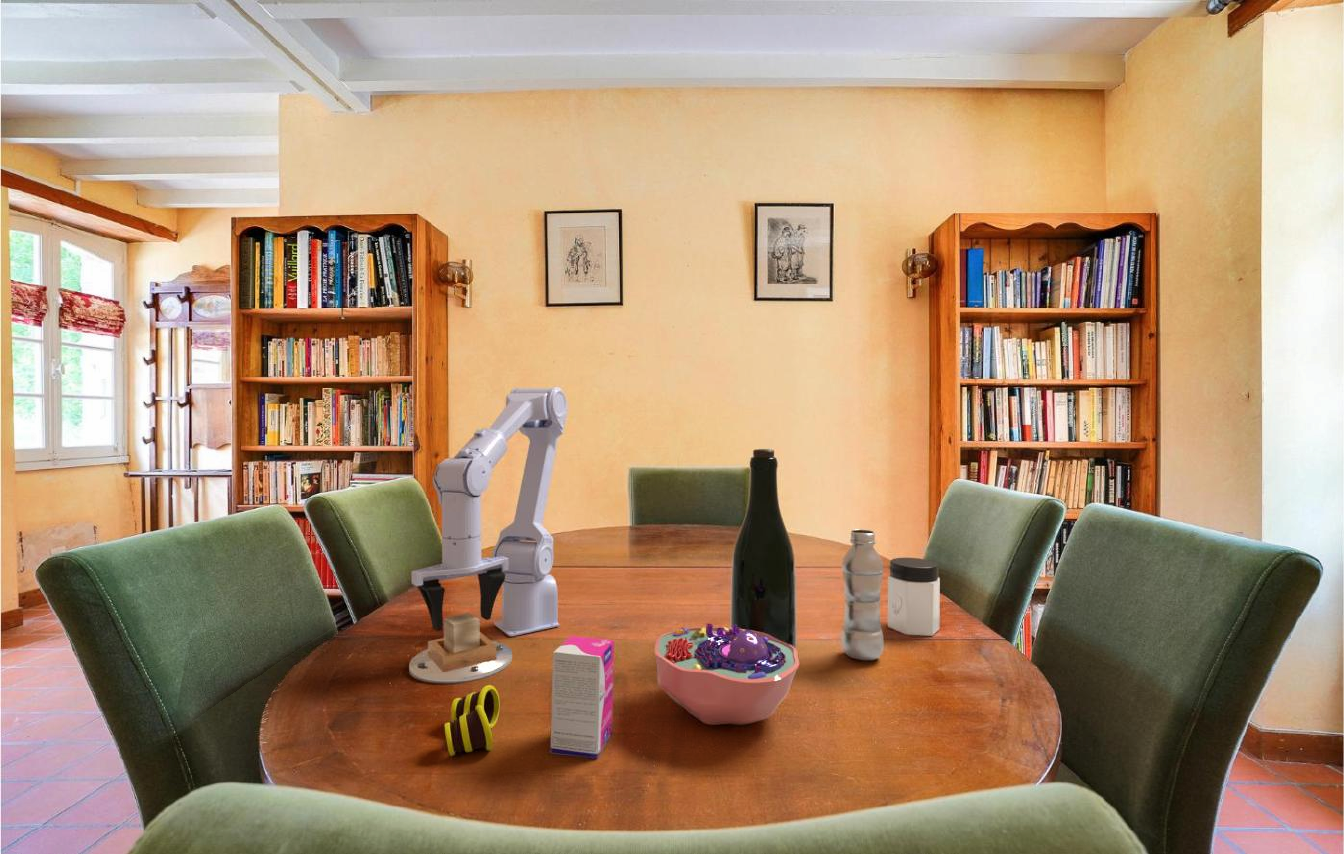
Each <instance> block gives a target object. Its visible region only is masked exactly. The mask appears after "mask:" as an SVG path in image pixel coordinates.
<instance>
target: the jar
mask: <svg viewBox="0 0 1344 854" xmlns="http://www.w3.org/2000/svg"><path fill="white" fill-rule="evenodd" d="M940 580H941V579H940V577H939V564H938V563H937V562H935V561H934V560H933V561H932V560H931V559H925V558H920V557H919V558H918V557H897V558H896V557H895V558H892V559H891V560H890V561H889V575H888V576H887V627H888V628H890V629H892V630H893V631H897V632H898V633H902V634H903V635H906V636H918V635H919V637H920V636H921V637H926V636H927V637H933V636H934V635H936V634H937V632H938V631H939V630H940V621H941V620H940V610H941V609H940V607H941V606H940V605H941V604H940V603H941V602H940V600H941V599H940V597H941V596H940V593H941V592H940V589H941V587H940V586H941V585H940V584H941V583H940V582H941V581H940Z"/></svg>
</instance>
